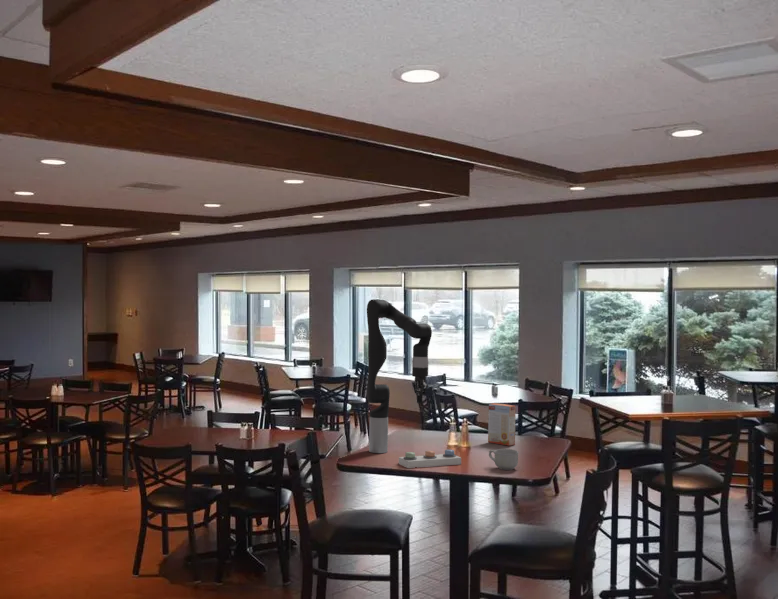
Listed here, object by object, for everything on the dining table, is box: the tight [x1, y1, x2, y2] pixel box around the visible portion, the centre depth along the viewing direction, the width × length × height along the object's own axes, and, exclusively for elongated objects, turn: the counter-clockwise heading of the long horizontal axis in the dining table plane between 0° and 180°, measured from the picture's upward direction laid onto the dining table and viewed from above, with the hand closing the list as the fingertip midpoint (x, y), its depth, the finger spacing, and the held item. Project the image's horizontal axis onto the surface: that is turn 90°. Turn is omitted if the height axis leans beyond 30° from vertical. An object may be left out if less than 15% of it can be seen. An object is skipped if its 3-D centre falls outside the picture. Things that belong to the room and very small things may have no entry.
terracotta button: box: [424, 450, 436, 457], centre depth 344 cm, size 4×4×2 cm
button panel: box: [398, 453, 462, 469], centre depth 344 cm, size 10×27×4 cm, turn 112°
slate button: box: [444, 449, 455, 456], centre depth 348 cm, size 4×4×2 cm
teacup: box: [488, 448, 519, 471], centre depth 338 cm, size 14×11×8 cm
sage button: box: [404, 451, 416, 458], centre depth 340 cm, size 4×4×2 cm
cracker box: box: [487, 402, 517, 447], centre depth 399 cm, size 14×6×21 cm, turn 44°
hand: (419, 403), depth 351 cm, fingers closed
